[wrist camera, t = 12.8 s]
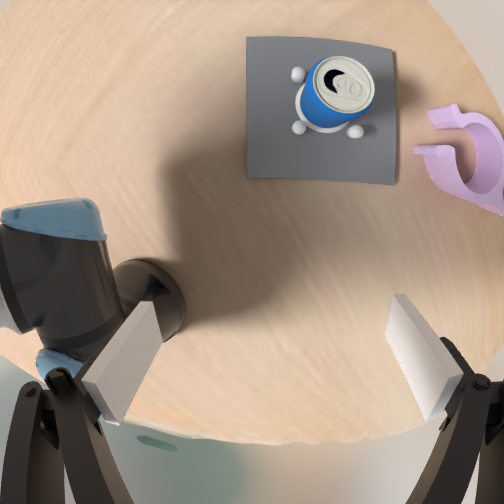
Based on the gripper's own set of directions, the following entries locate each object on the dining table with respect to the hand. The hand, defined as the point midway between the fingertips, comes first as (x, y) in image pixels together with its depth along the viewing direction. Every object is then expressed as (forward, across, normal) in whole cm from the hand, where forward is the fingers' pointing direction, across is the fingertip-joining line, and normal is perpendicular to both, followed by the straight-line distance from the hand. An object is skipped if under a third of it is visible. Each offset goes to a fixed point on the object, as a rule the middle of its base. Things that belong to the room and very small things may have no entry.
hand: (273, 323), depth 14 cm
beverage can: (+24, +7, +15) cm, 29 cm away
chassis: (+25, +8, +15) cm, 30 cm away
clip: (+25, +31, +8) cm, 41 cm away
